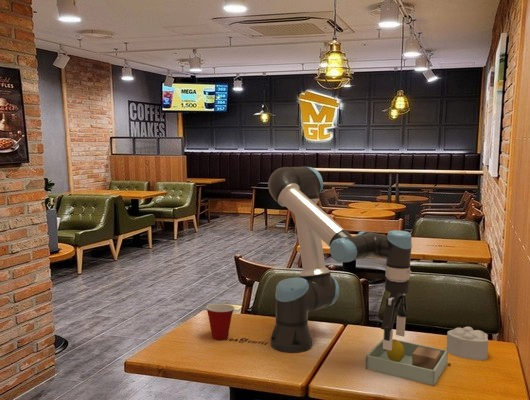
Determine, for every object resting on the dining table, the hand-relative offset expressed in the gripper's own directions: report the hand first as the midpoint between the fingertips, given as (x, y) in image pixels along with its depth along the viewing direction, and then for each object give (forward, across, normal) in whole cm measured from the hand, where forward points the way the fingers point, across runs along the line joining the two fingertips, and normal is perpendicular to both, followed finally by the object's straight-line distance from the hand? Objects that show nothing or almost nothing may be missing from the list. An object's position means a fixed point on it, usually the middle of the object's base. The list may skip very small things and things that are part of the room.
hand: (394, 342), depth 162 cm
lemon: (+7, 0, -1) cm, 7 cm away
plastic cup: (+9, -11, +62) cm, 64 cm away
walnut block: (+7, 0, -11) cm, 13 cm away
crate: (+7, 0, -5) cm, 9 cm away
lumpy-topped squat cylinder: (+7, +22, -19) cm, 30 cm away
